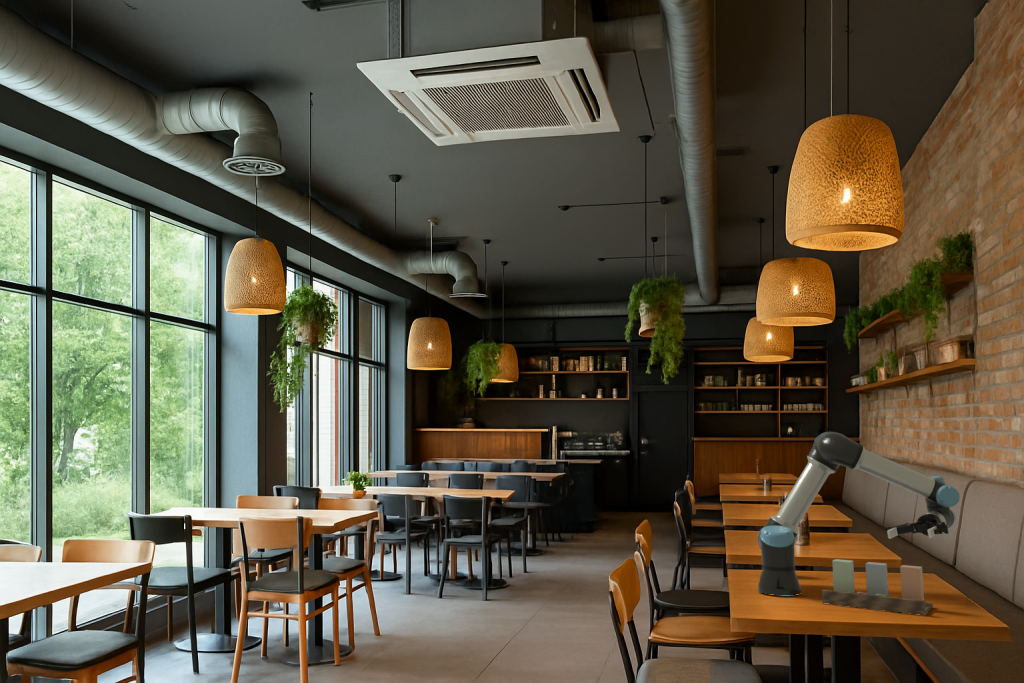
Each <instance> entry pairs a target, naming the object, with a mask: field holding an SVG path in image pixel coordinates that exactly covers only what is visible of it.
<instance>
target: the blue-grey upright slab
mask: <svg viewBox="0 0 1024 683" xmlns="http://www.w3.org/2000/svg"><path fill="white" fill-rule="evenodd" d="M888 577H889V576H888V564H887V563H884V562H883V563H882V562H873V561H868V562H866V563H865V578H866V579H865V580H866V593H867V595H876V594H883V595H887V597H890V596H889V580H888Z"/></svg>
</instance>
